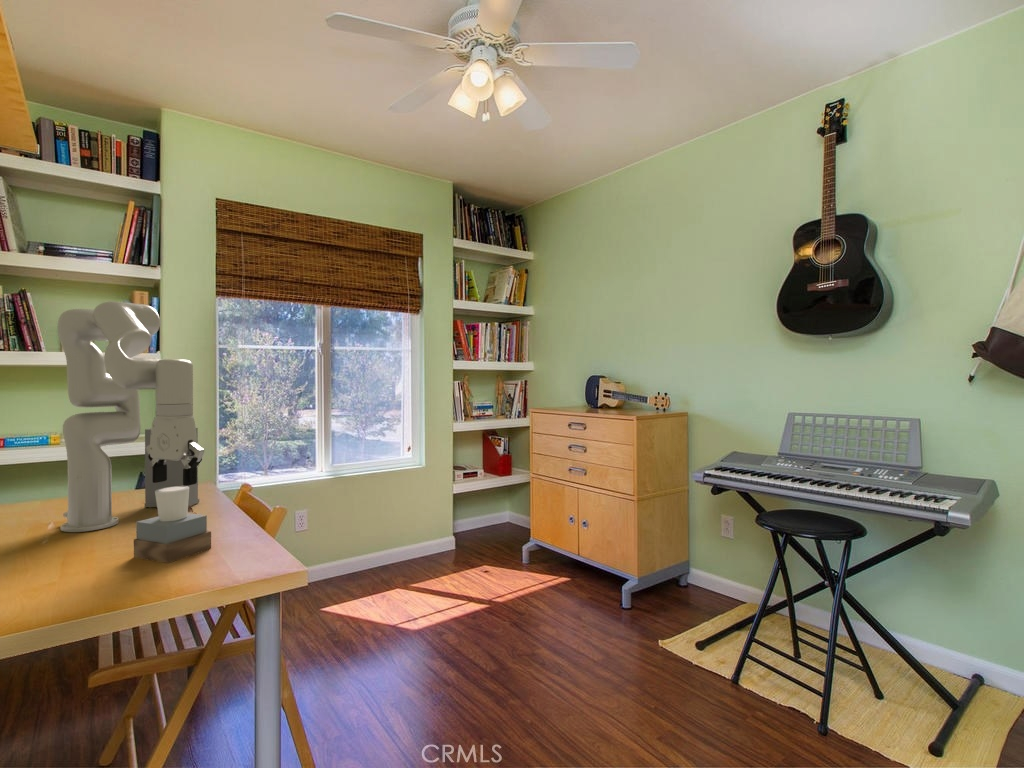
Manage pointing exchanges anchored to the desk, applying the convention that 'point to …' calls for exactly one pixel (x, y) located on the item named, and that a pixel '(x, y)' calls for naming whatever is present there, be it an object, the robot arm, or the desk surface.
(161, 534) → the top block
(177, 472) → the tall grey upright box
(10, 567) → the desk surface
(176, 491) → the beige cup
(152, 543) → the base block
